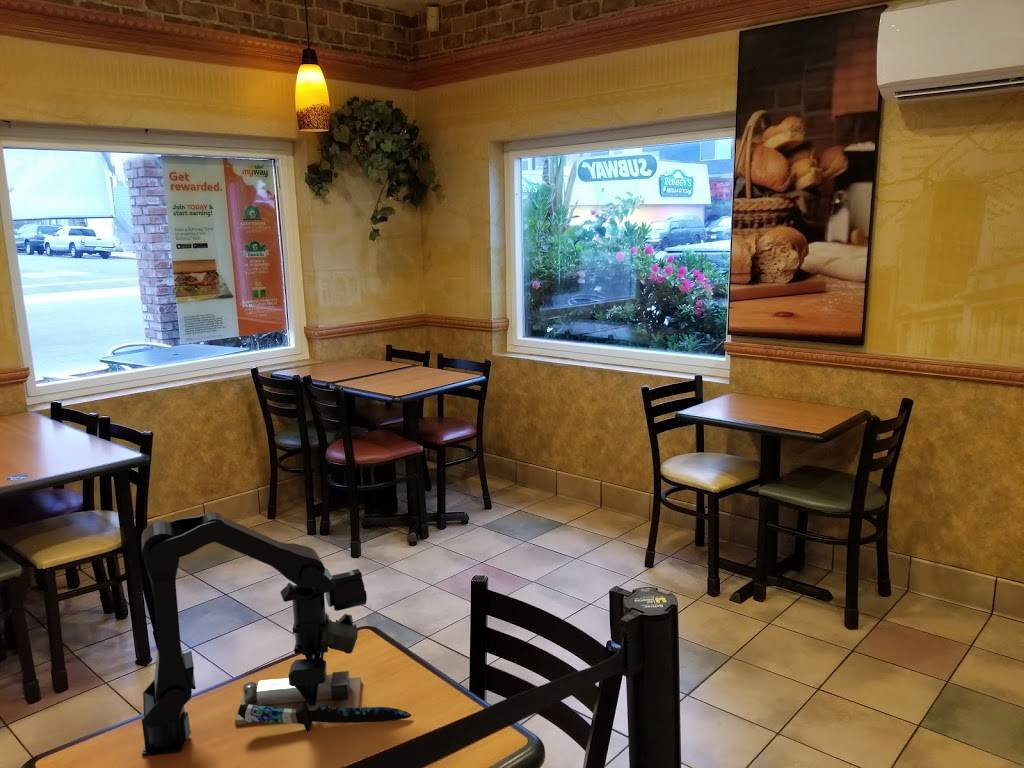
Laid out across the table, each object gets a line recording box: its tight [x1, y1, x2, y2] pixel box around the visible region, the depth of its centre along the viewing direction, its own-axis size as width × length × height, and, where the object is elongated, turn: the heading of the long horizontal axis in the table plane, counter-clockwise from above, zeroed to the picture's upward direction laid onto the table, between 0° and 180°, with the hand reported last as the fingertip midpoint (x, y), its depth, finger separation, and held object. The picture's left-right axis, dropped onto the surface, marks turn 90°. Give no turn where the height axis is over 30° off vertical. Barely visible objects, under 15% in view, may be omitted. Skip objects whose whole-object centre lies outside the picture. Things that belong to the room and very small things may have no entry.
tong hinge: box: [242, 681, 258, 705], centre depth 144 cm, size 2×2×3 cm
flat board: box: [234, 676, 362, 726], centre depth 146 cm, size 22×10×1 cm, turn 98°
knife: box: [237, 701, 412, 733], centre depth 139 cm, size 31×3×4 cm, turn 93°
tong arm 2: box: [257, 670, 350, 688], centre depth 147 cm, size 16×2×3 cm, turn 98°
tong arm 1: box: [257, 678, 349, 706], centre depth 144 cm, size 16×2×3 cm, turn 98°
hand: (315, 690), depth 146 cm, fingers open, 9 cm apart
